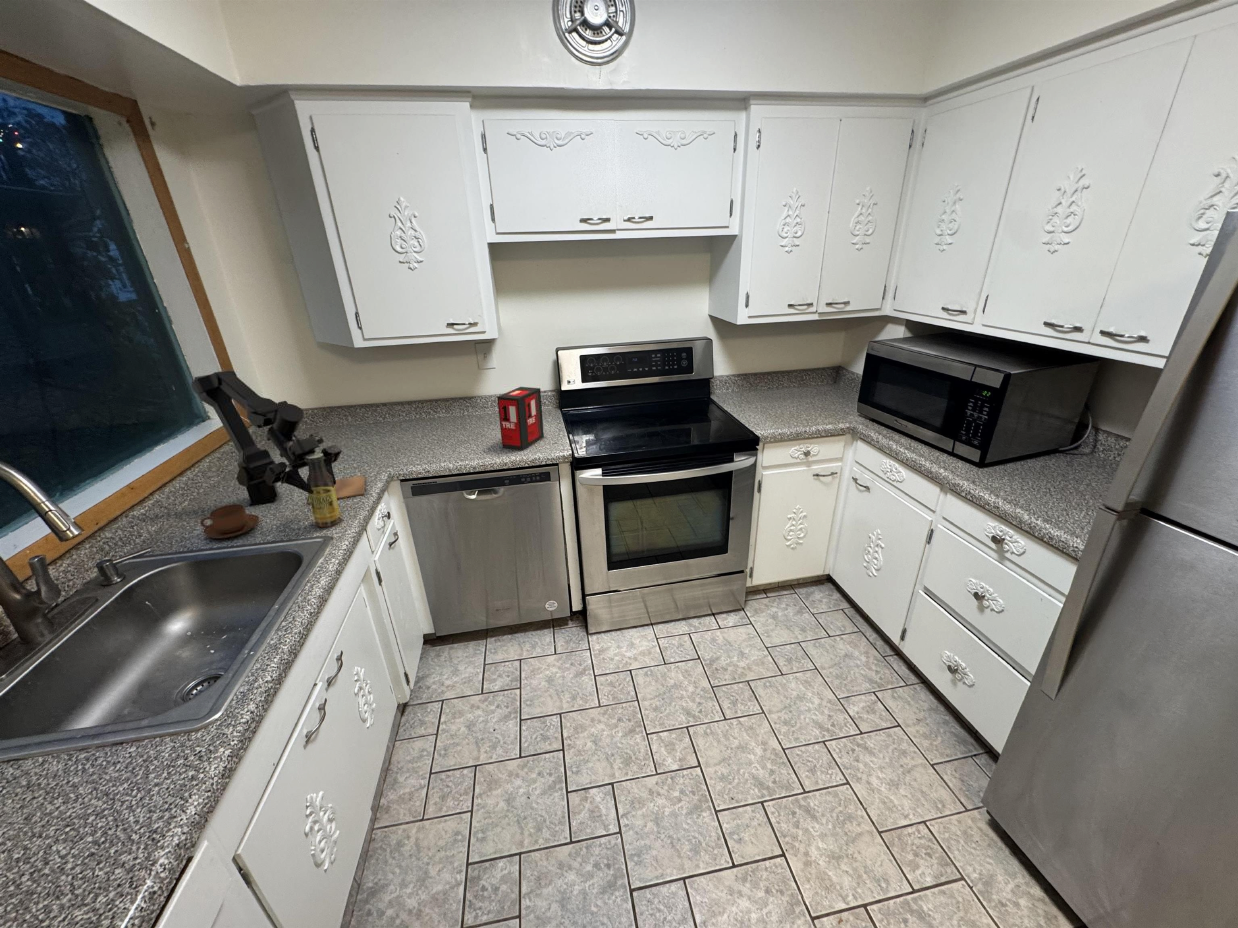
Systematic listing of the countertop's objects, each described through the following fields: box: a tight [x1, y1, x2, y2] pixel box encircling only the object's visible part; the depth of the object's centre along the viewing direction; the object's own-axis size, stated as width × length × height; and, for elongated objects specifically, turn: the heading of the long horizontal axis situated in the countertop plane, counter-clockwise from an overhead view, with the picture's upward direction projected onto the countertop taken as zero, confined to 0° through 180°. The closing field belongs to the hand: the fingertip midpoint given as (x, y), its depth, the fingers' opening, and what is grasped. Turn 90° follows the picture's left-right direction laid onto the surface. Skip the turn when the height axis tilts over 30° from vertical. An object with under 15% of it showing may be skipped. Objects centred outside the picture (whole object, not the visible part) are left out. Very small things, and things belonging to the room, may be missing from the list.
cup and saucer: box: [199, 503, 260, 539], centre depth 133 cm, size 12×12×6 cm
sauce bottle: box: [306, 452, 341, 528], centre depth 134 cm, size 7×6×20 cm
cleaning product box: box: [496, 386, 545, 451], centre depth 194 cm, size 16×9×20 cm, turn 160°
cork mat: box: [307, 475, 366, 505], centre depth 158 cm, size 15×15×1 cm
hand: (323, 488), depth 133 cm, fingers closed on sauce bottle, 6 cm apart
